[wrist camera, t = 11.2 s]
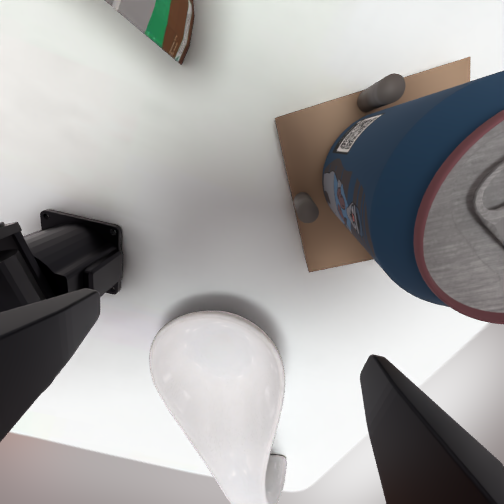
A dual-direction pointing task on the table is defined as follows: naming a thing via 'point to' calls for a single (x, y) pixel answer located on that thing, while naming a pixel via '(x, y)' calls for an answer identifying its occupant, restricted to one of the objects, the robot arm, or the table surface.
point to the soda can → (430, 194)
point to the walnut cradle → (320, 142)
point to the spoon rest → (225, 398)
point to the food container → (161, 22)
